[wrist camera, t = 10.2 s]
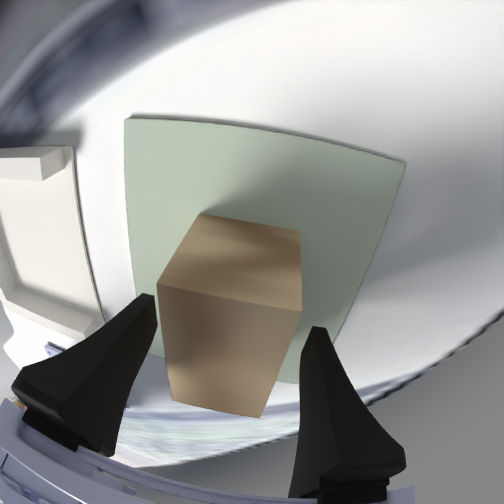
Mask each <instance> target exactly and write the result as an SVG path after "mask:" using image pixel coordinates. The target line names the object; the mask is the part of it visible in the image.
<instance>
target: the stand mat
mask: <svg viewBox="0 0 504 504" xmlns="http://www.w3.org/2000/svg"><path fill="white" fill-rule="evenodd" d="M404 168H405V164H403V163H401V162H398V161H395V160H391V159H388V158H385V157H381V156H378V155H375V154H371V153H368V152H364V151H360V150H357V149H353V148H349V147H345V146H341V145H337V144H333V143H328V142H324V141H320V140H315V139H310V138H306V137H301V136H296V135H290V134H285V133H279V132H274V131H268V130H261V129H255V128H248V127H241V126H233V125H225V124H216V123H207V122H196V121H183V120H168V119H143V118H127V119H124V173H125V196H126V211H127V224H128V235H129V244H130V253H131V261H132V269H133V276H134V283H135V290H136V296H137V297H138V296H139V295H140V294H141V293H146V294H150V295H154V297H155V305H156V313H157V321H158V327H157V330H156V333H155V336H154V339H153V342H152V345H151V347H150V349H149V351H148V354H150V355H153V356H157V357H161V358H164V359H165V353H164V347H163V339H162V332H161V324H160V315H159V306H158V296H157V286H156V283H157V281H158V279H159V278H160V276H161V274H162V273H163V271H164V269H165V268H166V266H167V264H168V263H169V261H170V259H171V258H172V256H173V254H174V253H175V251H176V249H177V248H178V246H179V244H180V243H181V241H182V240H183V238H184V236H185V235H186V233H187V232H188V230H189V228H190V227H191V225H192V224H193V222H194V221H195V219H196V217H197V216H198V214H199V213H201V214H207V215H213V216H219V217H225V218H230V219H236V220H242V221H247V222H253V223H259V224H264V225H269V226H275V227H280V228H285V229H291V230H296V231H300V251H301V279H302V314H301V316H300V319H299V322H298V325H297V327H296V330H295V333H294V335H293V338H292V341H291V343H290V346H289V348H288V351H287V354H286V356H285V359H284V361H283V364H282V366H281V369H280V371H279V374H278V376H277V379H276V381H279V382H287V383H295V384H299V368H300V356H301V352H302V349H303V347H304V345H305V342H306V340H307V338H308V335H309V333H310V331H311V328H312V326H317V327H325V328H326V329H327V331H328V334H329V336H330V339H331V341H332V343H333V341H334V340H335V338H336V336H337V334H338V332H339V330H340V328H341V326H342V324H343V322H344V320H345V318H346V316H347V314H348V311H349V309H350V307H351V305H352V303H353V301H354V299H355V297H356V294H357V292H358V290H359V288H360V286H361V283H362V281H363V279H364V276H365V274H366V272H367V270H368V267H369V265H370V262H371V260H372V258H373V255H374V253H375V250H376V248H377V245H378V243H379V240H380V238H381V235H382V232H383V230H384V227H385V224H386V222H387V219H388V216H389V213H390V211H391V208H392V205H393V202H394V199H395V196H396V193H397V190H398V187H399V184H400V181H401V178H402V174H403V171H404Z"/></svg>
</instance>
